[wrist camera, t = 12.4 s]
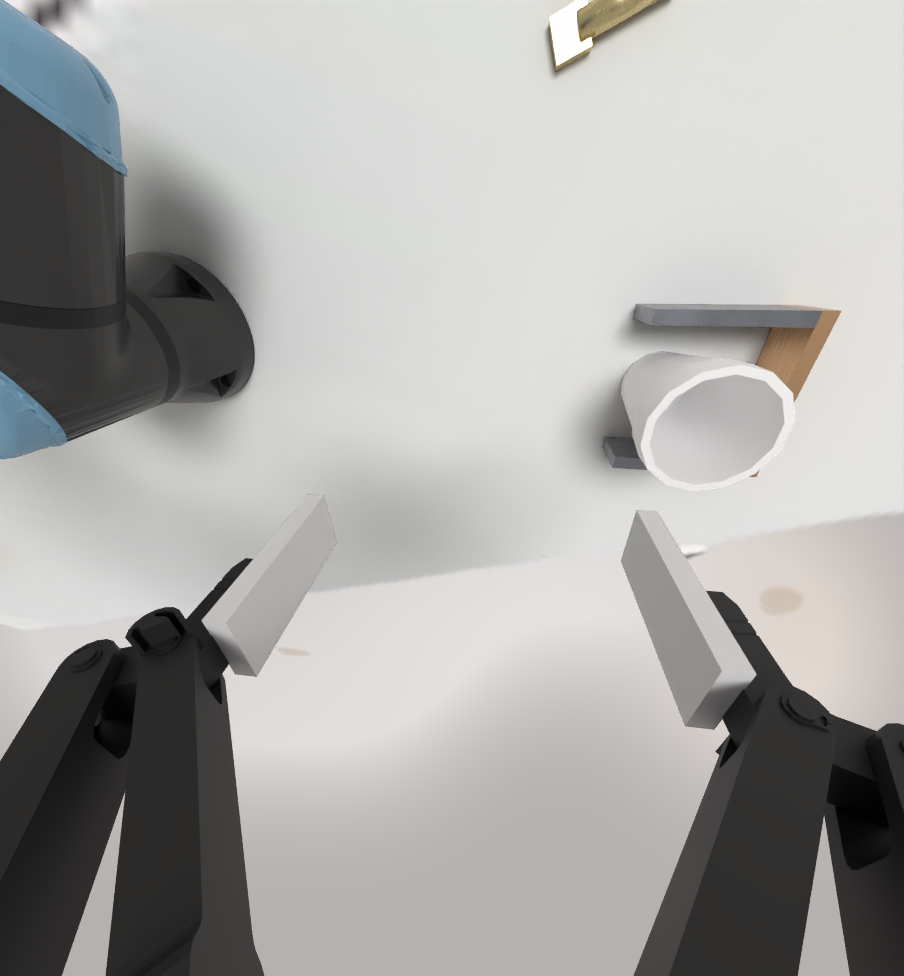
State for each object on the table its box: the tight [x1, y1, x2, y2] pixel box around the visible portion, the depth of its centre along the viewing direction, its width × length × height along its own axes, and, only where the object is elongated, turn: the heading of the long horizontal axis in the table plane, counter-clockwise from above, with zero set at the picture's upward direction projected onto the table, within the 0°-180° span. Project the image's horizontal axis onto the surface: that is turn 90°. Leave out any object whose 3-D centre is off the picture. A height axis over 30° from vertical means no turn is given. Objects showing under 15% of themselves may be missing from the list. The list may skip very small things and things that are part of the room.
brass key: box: [549, 0, 659, 71], centre depth 24 cm, size 8×2×2 cm, turn 110°
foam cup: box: [620, 351, 795, 491], centre depth 30 cm, size 10×9×13 cm
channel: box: [602, 304, 841, 477], centre depth 33 cm, size 13×14×5 cm
